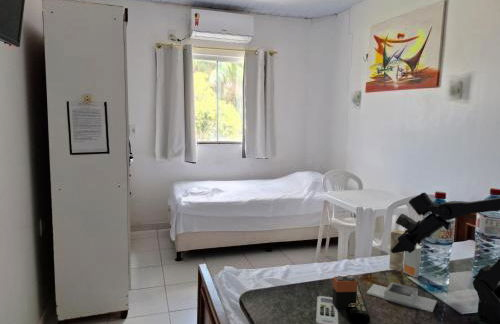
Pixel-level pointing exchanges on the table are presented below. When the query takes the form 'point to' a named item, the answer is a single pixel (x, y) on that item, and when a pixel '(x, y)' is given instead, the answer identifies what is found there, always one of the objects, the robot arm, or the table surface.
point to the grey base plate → (402, 296)
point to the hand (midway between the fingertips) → (393, 250)
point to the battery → (344, 291)
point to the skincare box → (412, 262)
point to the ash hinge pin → (396, 258)
